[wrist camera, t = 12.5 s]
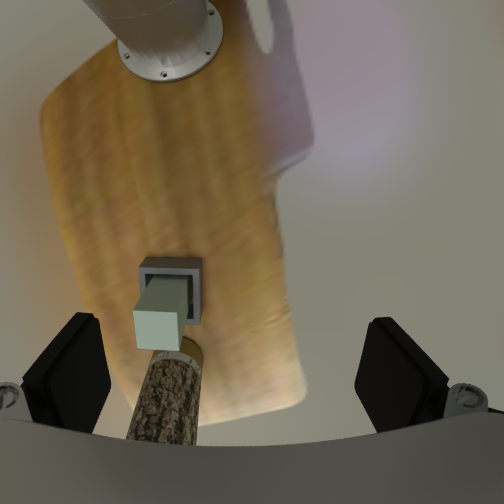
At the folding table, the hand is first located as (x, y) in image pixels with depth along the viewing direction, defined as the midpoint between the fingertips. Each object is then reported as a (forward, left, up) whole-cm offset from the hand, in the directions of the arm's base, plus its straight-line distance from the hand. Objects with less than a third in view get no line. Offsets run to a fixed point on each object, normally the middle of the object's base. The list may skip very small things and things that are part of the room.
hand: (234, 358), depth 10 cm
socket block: (+9, -6, -28) cm, 30 cm away
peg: (+8, -6, -28) cm, 30 cm away
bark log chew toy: (+19, -6, -28) cm, 35 cm away
